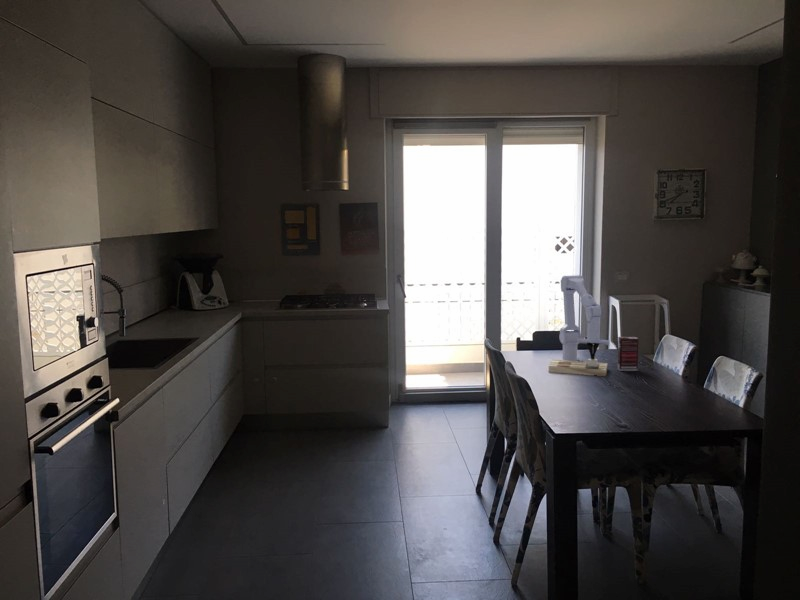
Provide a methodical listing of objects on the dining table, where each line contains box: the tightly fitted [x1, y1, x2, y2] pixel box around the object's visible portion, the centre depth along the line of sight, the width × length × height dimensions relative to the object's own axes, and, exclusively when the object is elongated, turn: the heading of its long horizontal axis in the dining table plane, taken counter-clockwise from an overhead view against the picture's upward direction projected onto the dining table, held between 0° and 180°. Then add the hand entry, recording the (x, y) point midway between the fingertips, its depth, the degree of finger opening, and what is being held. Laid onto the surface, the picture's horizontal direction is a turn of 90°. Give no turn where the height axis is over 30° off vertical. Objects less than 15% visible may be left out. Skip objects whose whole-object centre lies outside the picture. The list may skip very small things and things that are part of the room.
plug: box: [587, 357, 598, 367], centre depth 304 cm, size 4×4×6 cm
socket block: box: [548, 358, 609, 377], centre depth 306 cm, size 14×26×3 cm, turn 69°
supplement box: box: [617, 336, 639, 372], centre depth 306 cm, size 9×5×16 cm, turn 84°
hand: (592, 358), depth 303 cm, fingers closed
